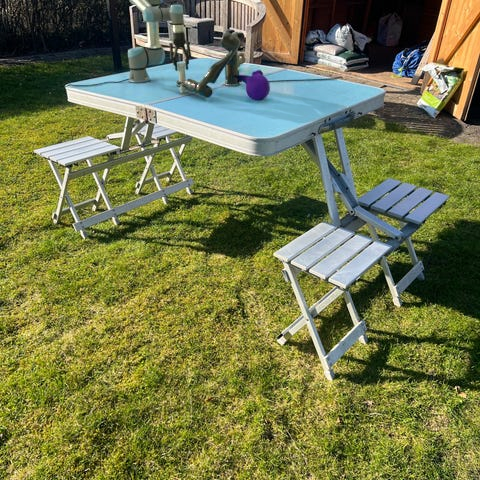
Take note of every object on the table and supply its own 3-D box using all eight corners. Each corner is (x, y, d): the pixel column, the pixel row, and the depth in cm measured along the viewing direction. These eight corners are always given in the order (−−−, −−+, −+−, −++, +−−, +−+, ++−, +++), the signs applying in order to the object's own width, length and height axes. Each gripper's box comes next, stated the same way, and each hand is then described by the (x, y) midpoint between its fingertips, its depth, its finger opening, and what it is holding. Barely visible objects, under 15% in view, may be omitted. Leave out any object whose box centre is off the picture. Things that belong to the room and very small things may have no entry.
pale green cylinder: (187, 91, 305) (185, 63, 296) (185, 92, 302) (183, 64, 293) (181, 91, 306) (179, 63, 297) (179, 92, 303) (177, 64, 293)
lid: (176, 66, 297) (176, 62, 296) (183, 65, 298) (183, 62, 297) (178, 67, 293) (178, 63, 292) (186, 67, 295) (185, 63, 293)
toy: (254, 92, 298) (269, 106, 277) (229, 87, 290) (243, 101, 270) (261, 68, 290) (277, 80, 269) (236, 62, 282) (250, 75, 262)
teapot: (225, 72, 363) (224, 52, 355) (218, 70, 371) (218, 50, 364) (248, 69, 372) (247, 50, 364) (241, 67, 381) (240, 48, 373)
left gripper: (190, 30, 292) (193, 67, 304) (162, 32, 284) (165, 70, 296) (195, 31, 286) (197, 69, 298) (165, 33, 278) (169, 72, 290)
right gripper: (201, 78, 292) (189, 74, 304) (181, 81, 285) (170, 77, 298) (202, 90, 295) (190, 86, 308) (182, 93, 289) (171, 88, 301)
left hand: (181, 70), depth 297 cm, fingers open, 7 cm apart
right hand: (180, 81), depth 303 cm, fingers closed on pale green cylinder, 4 cm apart
